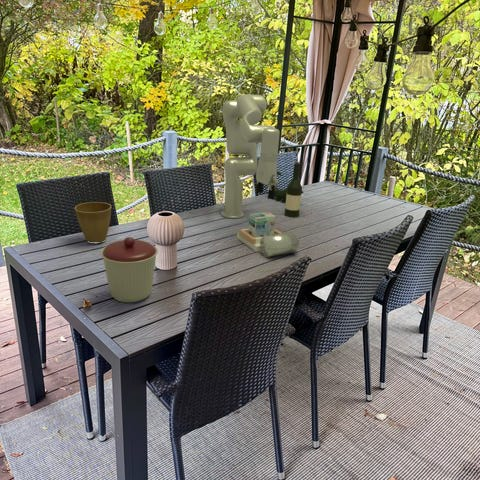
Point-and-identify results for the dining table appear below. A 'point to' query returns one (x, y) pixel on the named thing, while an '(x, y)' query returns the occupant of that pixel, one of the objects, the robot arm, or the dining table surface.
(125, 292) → the canister
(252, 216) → the light bulb box
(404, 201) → the dining table surface
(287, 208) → the wine bottle
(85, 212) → the plant pot
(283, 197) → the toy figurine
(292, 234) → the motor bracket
